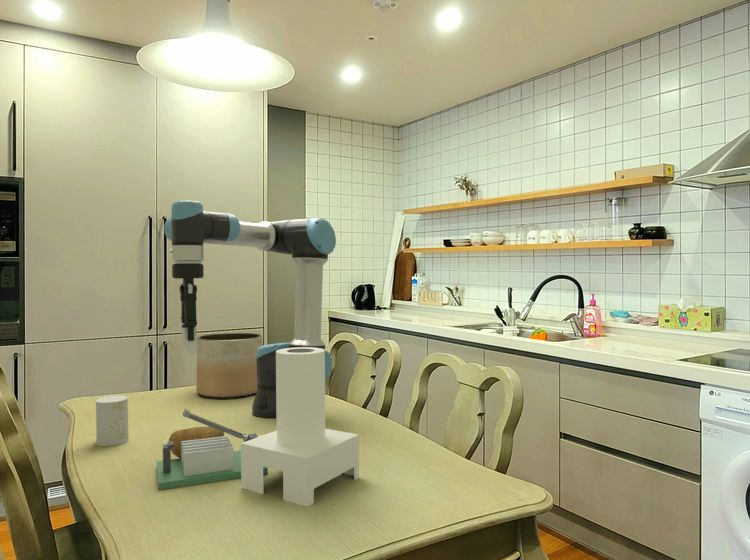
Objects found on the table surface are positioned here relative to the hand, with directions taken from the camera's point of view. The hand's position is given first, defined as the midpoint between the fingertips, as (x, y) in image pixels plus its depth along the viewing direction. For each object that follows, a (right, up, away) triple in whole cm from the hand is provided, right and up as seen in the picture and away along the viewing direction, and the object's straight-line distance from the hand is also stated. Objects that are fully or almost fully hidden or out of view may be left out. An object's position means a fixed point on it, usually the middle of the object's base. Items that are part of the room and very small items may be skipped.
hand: (189, 351), depth 141 cm
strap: (+9, -18, -7) cm, 21 cm away
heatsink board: (+8, -28, -7) cm, 30 cm away
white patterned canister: (-27, -28, +16) cm, 42 cm away
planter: (-10, -26, +78) cm, 83 cm away
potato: (+2, -28, +2) cm, 28 cm away
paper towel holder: (+30, -28, -15) cm, 44 cm away
